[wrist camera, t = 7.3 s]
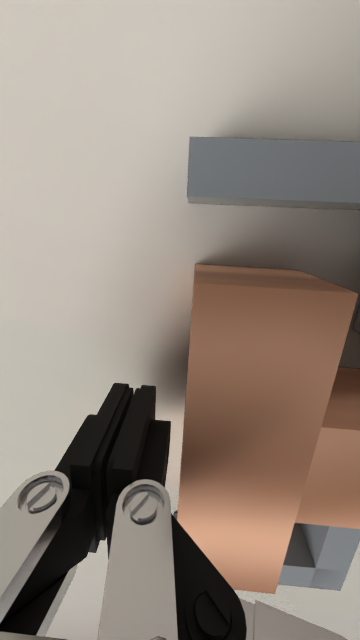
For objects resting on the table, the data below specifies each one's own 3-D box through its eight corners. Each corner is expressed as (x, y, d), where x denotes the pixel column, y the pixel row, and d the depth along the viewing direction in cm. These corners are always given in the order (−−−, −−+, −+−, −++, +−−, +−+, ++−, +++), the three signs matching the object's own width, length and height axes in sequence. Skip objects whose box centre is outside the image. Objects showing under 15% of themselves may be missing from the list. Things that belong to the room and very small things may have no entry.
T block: (194, 264, 10) (194, 283, 7) (514, 283, 10) (713, 316, 6) (179, 488, 14) (172, 582, 10) (407, 510, 14) (488, 617, 10)
